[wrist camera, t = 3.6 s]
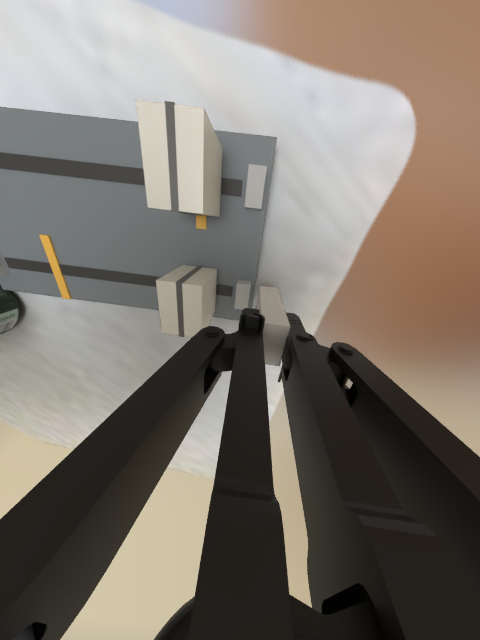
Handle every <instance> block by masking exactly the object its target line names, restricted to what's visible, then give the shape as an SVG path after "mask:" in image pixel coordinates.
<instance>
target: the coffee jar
mask: <svg viewBox="0 0 480 640" xmlns="http://www.w3.org/2000/svg"><path fill="white" fill-rule="evenodd" d="M19 318H20V308H19V305H18V301H17V299H16V298H15V297H14V296H13V295H12V294H11V293H10V292H9V291H8V290H3V289H2V287H1V285H0V334H2V333H4V332H6V331H8V330H10V329H11V328H12V327H14V326H15V324H16V323H17V322H18V320H19Z"/></svg>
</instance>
